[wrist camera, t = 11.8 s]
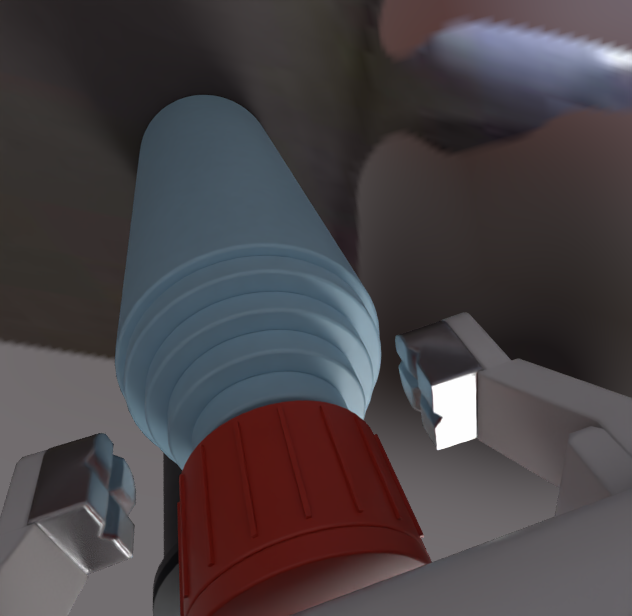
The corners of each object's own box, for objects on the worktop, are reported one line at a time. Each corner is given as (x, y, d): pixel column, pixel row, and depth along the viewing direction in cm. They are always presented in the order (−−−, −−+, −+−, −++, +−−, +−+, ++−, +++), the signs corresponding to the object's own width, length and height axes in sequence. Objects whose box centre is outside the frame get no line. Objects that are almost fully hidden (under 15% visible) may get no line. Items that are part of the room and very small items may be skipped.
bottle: (285, 204, 28) (493, 601, 10) (169, 238, 27) (181, 721, 10) (253, 78, 24) (502, 376, 6) (116, 115, 23) (-21, 554, 6)
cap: (143, 442, 8) (136, 622, 6) (363, 369, 9) (434, 514, 6) (216, 556, 11) (231, 718, 8) (387, 495, 11) (446, 634, 9)
